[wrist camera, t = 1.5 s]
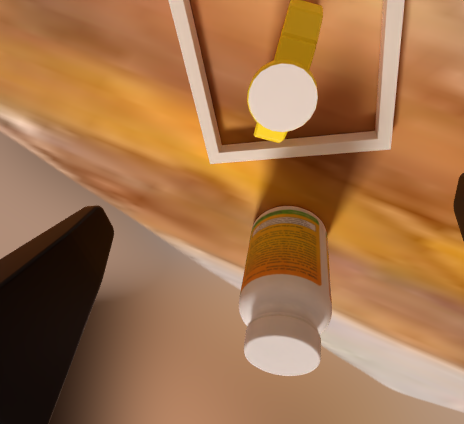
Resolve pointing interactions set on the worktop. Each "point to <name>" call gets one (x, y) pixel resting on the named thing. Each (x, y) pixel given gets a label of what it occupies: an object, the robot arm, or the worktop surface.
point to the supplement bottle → (286, 291)
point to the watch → (287, 76)
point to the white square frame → (295, 146)
